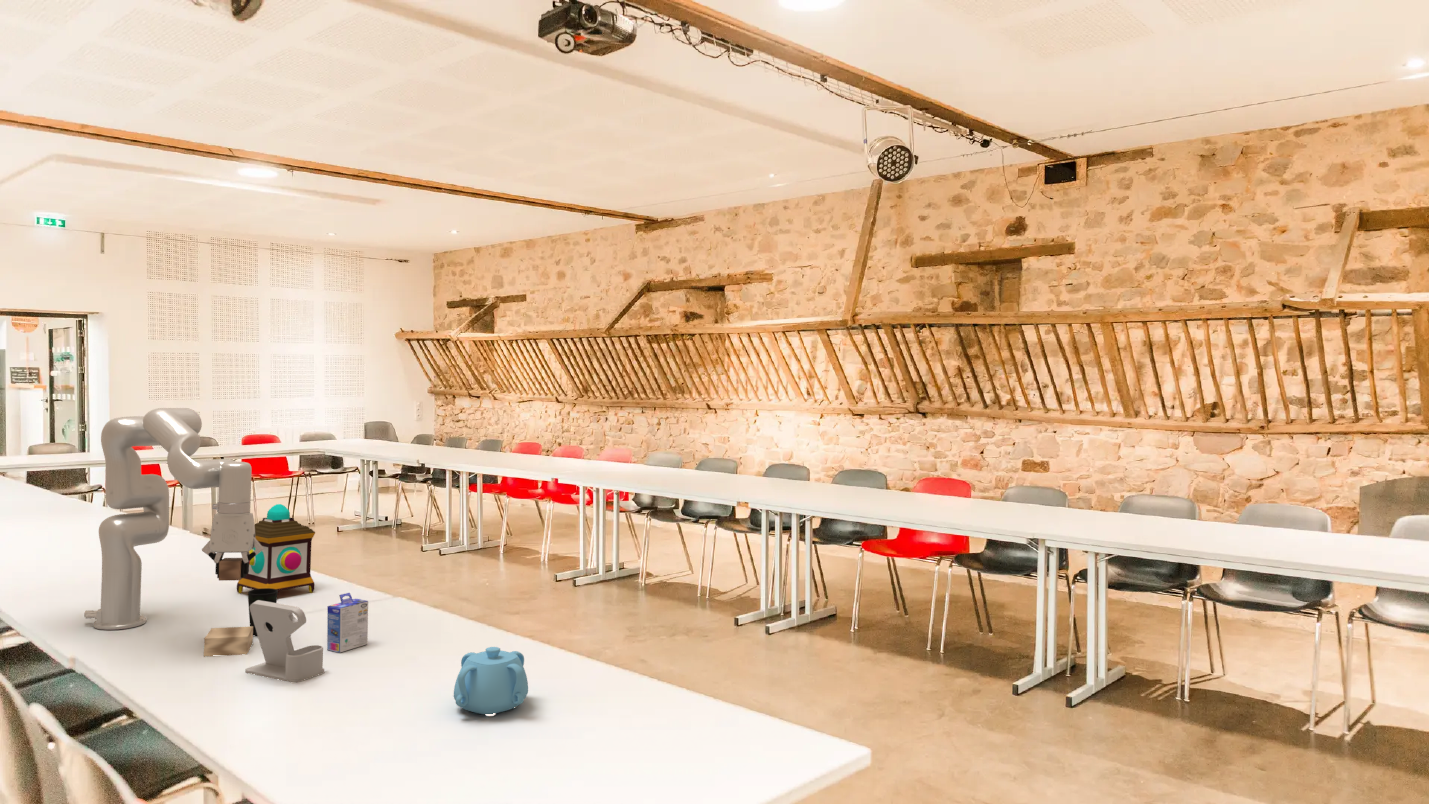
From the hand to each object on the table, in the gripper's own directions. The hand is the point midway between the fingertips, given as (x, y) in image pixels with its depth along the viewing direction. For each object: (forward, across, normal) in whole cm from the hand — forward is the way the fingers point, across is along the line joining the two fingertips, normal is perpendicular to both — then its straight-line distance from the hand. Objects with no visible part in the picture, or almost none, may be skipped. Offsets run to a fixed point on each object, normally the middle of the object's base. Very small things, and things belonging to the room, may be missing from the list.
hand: (232, 576), depth 236 cm
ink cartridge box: (+20, +29, -1) cm, 35 cm away
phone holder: (+20, +18, -21) cm, 34 cm away
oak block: (+20, 0, 0) cm, 20 cm away
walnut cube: (+1, 0, 0) cm, 1 cm away
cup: (+20, +4, +15) cm, 25 cm away
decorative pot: (+20, +68, -51) cm, 87 cm away
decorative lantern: (+20, -3, +65) cm, 68 cm away
